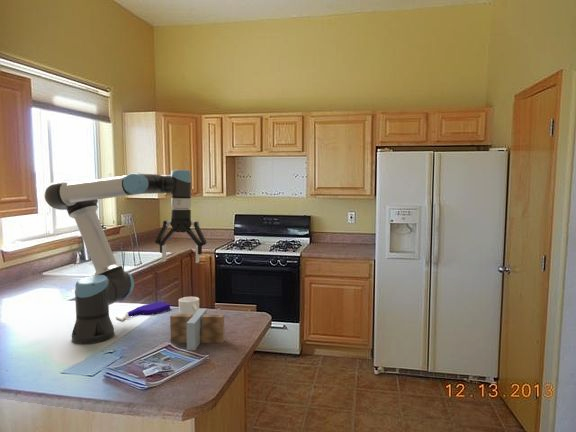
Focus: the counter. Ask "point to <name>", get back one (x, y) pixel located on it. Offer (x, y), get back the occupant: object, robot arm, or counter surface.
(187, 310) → the mug
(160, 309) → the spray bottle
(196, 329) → the grey flat rectangular block
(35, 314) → the counter surface
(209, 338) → the walnut board
